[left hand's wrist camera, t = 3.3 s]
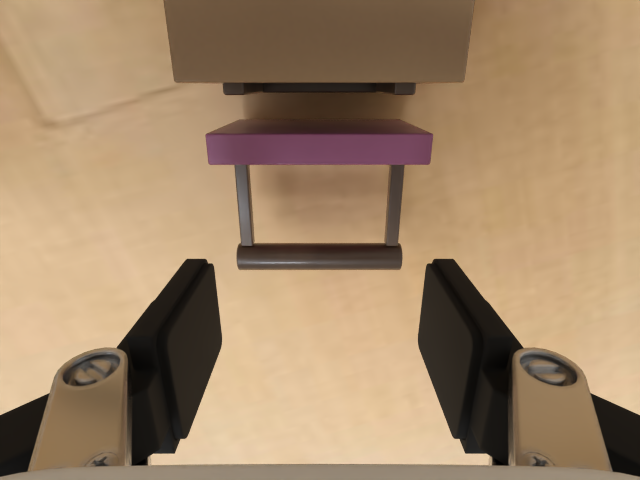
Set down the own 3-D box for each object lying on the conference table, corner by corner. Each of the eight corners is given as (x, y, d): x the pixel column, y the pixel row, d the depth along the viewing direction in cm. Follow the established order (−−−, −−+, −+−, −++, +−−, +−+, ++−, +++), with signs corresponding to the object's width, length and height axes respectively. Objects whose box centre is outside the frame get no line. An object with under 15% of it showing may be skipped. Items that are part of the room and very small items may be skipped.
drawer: (391, 242, 23) (416, 297, 17) (247, 242, 23) (222, 297, 17) (434, -342, 14) (518, -652, 8) (203, -342, 14) (118, -652, 8)
